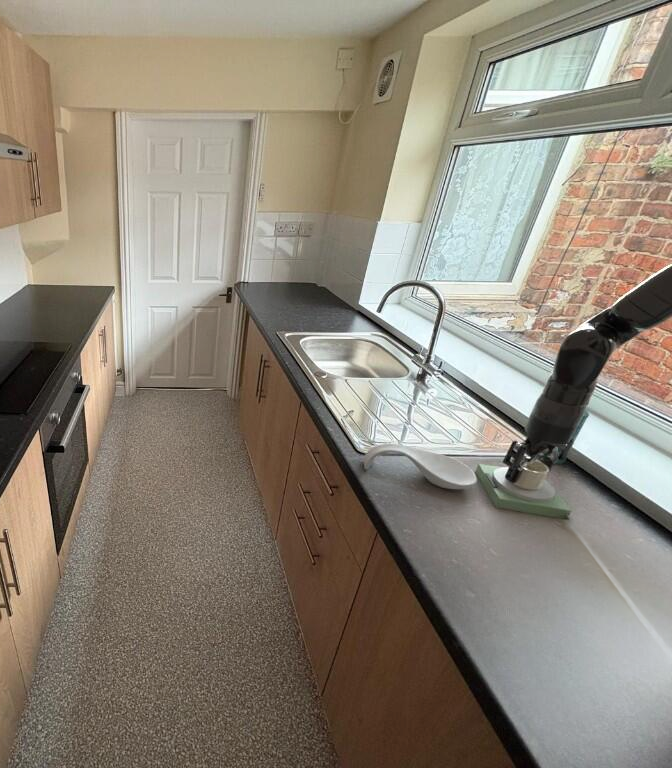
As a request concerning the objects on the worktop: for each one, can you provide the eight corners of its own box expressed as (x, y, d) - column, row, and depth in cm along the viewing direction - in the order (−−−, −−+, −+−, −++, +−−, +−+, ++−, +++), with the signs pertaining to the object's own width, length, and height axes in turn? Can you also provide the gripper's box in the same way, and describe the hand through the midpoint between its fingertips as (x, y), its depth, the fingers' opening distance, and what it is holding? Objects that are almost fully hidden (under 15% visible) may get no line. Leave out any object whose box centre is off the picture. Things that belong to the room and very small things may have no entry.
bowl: (532, 475, 97) (540, 458, 94) (545, 493, 91) (555, 475, 89) (501, 471, 98) (508, 453, 96) (512, 488, 93) (520, 470, 91)
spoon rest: (464, 471, 104) (474, 447, 100) (478, 502, 94) (489, 477, 91) (361, 453, 111) (367, 430, 108) (364, 480, 101) (371, 456, 98)
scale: (537, 481, 100) (543, 469, 98) (566, 519, 89) (573, 507, 87) (475, 471, 104) (479, 460, 102) (495, 507, 92) (501, 495, 91)
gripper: (546, 430, 82) (516, 493, 89) (601, 421, 85) (567, 483, 92) (510, 412, 89) (484, 472, 96) (562, 403, 91) (534, 463, 99)
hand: (525, 477), depth 94 cm, fingers open, 8 cm apart
